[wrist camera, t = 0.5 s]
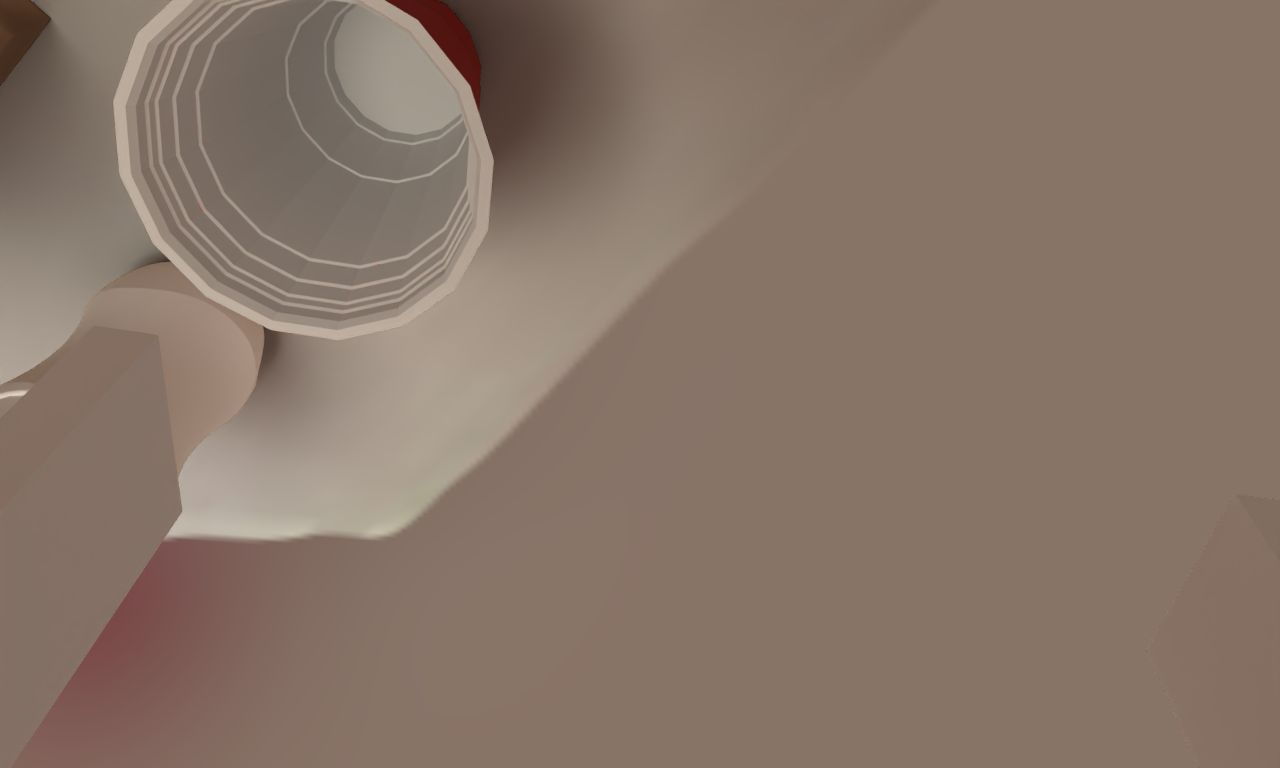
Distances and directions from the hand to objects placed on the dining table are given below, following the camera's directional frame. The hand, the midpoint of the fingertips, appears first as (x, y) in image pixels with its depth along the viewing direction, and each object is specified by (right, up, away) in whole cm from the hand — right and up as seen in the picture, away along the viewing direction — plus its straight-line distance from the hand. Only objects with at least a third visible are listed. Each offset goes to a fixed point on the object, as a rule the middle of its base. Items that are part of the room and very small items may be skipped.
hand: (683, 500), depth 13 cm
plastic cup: (-9, +14, +27) cm, 32 cm away
